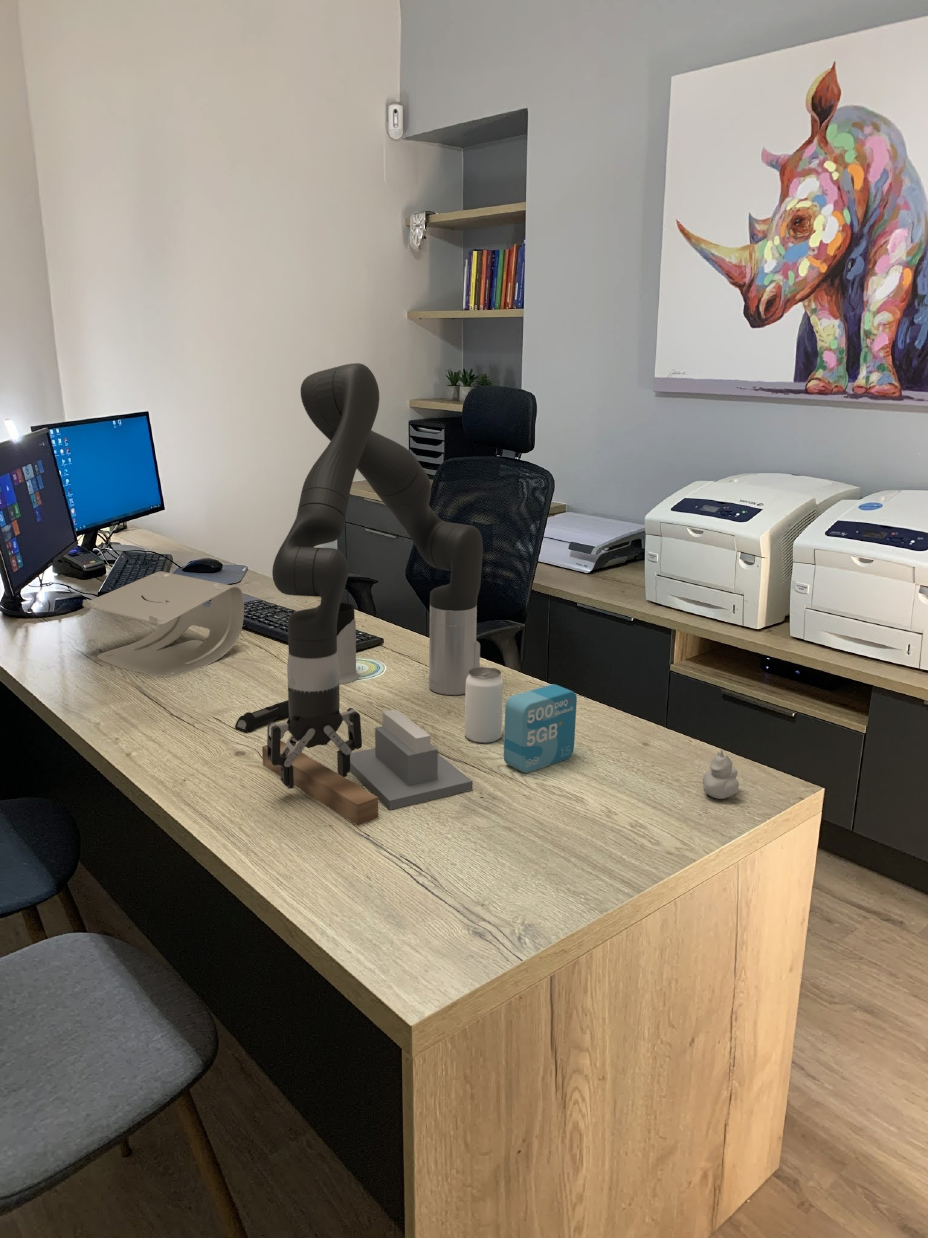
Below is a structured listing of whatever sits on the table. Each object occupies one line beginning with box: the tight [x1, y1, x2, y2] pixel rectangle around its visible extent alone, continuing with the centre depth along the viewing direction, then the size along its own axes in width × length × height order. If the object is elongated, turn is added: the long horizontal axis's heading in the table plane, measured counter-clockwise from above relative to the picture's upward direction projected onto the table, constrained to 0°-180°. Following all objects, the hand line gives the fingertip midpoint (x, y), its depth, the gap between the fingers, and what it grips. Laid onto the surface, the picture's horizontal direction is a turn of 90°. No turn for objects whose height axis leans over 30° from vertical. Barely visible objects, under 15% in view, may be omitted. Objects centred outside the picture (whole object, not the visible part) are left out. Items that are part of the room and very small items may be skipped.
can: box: [464, 666, 504, 744], centre depth 160 cm, size 6×6×12 cm
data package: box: [503, 683, 578, 774], centre depth 150 cm, size 12×4×12 cm, turn 129°
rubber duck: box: [702, 749, 740, 800], centre depth 140 cm, size 5×7×8 cm
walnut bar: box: [261, 740, 379, 826], centre depth 140 cm, size 26×4×4 cm, turn 42°
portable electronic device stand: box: [82, 571, 245, 678], centre depth 199 cm, size 26×24×16 cm
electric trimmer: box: [234, 699, 289, 734], centre depth 167 cm, size 4×16×3 cm, turn 141°
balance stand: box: [350, 709, 473, 811], centre depth 144 cm, size 14×18×9 cm
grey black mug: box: [295, 602, 359, 686], centre depth 188 cm, size 9×14×15 cm, turn 71°
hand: (316, 781), depth 140 cm, fingers open, 8 cm apart
